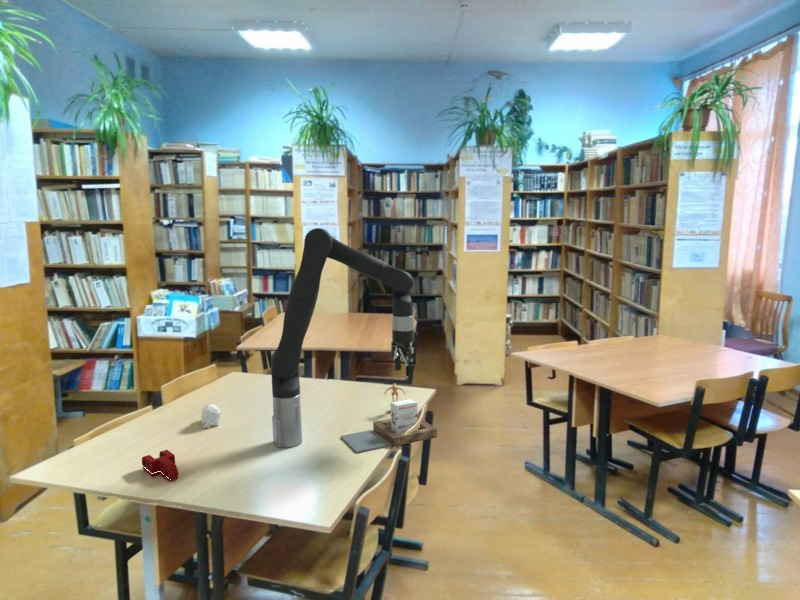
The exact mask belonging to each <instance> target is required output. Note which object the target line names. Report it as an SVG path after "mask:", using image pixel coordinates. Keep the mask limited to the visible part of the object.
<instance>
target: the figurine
mask: <svg viewBox="0 0 800 600" xmlns="http://www.w3.org/2000/svg"><path fill="white" fill-rule="evenodd" d="M390 390H392V392H391V396H392V397H391V399H392V402H397V401H398V399H399V391H401V392H403V394H404V395H406V393H405V391H404V389H403V388H401V387H399V386H397V384H396V382H394V383H393V385H392V386H390V387H388V388H387V389H386V390H385V391H384V394H387V392H388V391H390ZM398 390H399V391H398ZM394 396H396V399H395V397H394ZM390 408H391V404H390Z"/></svg>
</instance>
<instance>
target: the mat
mask: <svg viewBox="0 0 800 600" xmlns="http://www.w3.org/2000/svg"><path fill="white" fill-rule="evenodd" d="M340 439H342V441H343V442H344V443H346V444H347V445H348V446H349V447H350V448H351V450H353V451H354V452H355V453H356V454H359V453H363V452H369V451H374V450H378V449H383V448H388V445H387V444H386V443H385V442H384V441H383V440H382V439H381V438H379V437H378V436H377V435H376V434H374V433H373V432H372V431H371V430H370V429H369V430H365V431H364V430H363V431H360V432H359V431H358V432H354V433H350V434H343V435H340Z"/></svg>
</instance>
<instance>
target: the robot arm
mask: <svg viewBox="0 0 800 600" xmlns="http://www.w3.org/2000/svg"><path fill="white" fill-rule="evenodd" d="M327 259H331V260H334V261H336V262H339V263H341V264H343V265H344V266H347V267H349V268H350V269H352V270H354V271H356V272H358V273H360V274H362V275H364V276H366V277H368V278H369V279H372V280H375V281H377V282H380V283H382V284H384V285H386V286H388V287H390V288H391V297H392V317H391V318H392V320H391V332H392V333H391V338H392V340H391V344H390V345H391V346H390V347H391V349H390V357H391V358H393V360H394V370H395V371H397V372H398V371H402V361H404V363H405V376H406V377H412V376H413V366H415V365H417V353H416V351H417V350H416V348H415V347H411V344H412V342H414V339H415V338H414V337H415V335H414V331H415V330H414V325H415V324H414V315H413V314H414V313H413V311H414V310H413V306H414V305H413V301H412V298H411V296H412V295H411V291H412V289H413V287H414V283H415V281H414V277H413V276H412V274H411V273H409V272H407V271H405V270H402V269H399V268H397V267H394V266H392V265H390V264H388V262H386V261H384V260H382V259H379V258H377V257H376V256H373V255H371V254H368V253H366V252H363V251H361V250H359V249H355V248H353V247H351V246H349V245H347V244H345V243H343V242H341V241H339V240H338V239H336V238H335V237H333V235H331V234H330V233H329V231H327V230H326V229H323V228H320V227H315V228H313V229H311V230H309V231H308V232H307V233H306V235H305V237H304V243H303V252H302V255H301V261H300V265H299V269H298V271H297V274H296V276H295V278H294V281H293V283H292V285H291V289H290V291H289V295H288V298H287V302H286V306H285V310H284V317H283V325H282V333H281V337H280V341H279V342H278V345H277V348H276V350H274V351H273V353H272V355H271V357H270V367H271V390H272V408H273V410H272V411H273V415H272V416H271V418H272V438H273V439H272V440H273V443H274V445H275V446H276V448H292V447H297V446H299V445H301V444H302V442H303V435H302V433H303V431H302V410H301V409H302V407H301V385H300V384H301V383H300V370H299V369H300V368H299V367H300V359H301V353H302V349H303V348H302V347H303V344H304V340H305V337H306V334H307V332H308V329H309V326H310V323H311V320H312V317H313V315H314V312H315V308H316V305H317V300H318V296H319V290H320V285H321V277H322V273H323V270H324V266H325V264H326V262H327Z"/></svg>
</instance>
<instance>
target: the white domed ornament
mask: <svg viewBox="0 0 800 600" xmlns="http://www.w3.org/2000/svg"><path fill="white" fill-rule="evenodd" d="M220 418H221V411H220V408H219V407H218V406H217V405H215V404H212V403H210V404H206V405H205V406H204V407H203V408H202V410H201V414H200V419H201V421H202V425H203V424H204V425H203V426H202V427H203V429H208V428H209V427H211V425H213V426H216V427H217V426H219V425H220V422H219V421H220Z"/></svg>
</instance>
